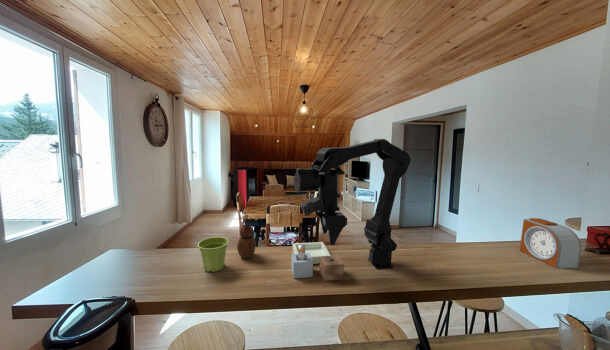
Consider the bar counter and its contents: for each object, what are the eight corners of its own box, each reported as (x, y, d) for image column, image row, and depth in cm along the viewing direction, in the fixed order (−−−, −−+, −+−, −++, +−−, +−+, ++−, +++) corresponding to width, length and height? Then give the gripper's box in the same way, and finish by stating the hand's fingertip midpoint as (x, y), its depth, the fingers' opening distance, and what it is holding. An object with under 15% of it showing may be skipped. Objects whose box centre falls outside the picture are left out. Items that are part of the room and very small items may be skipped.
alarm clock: (516, 249, 97) (520, 216, 96) (536, 249, 98) (541, 217, 96) (555, 268, 83) (560, 229, 81) (578, 267, 83) (585, 230, 81)
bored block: (309, 267, 80) (309, 252, 80) (312, 276, 75) (312, 261, 74) (291, 268, 79) (291, 254, 79) (293, 278, 74) (293, 262, 73)
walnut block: (337, 269, 79) (337, 254, 79) (343, 279, 74) (343, 263, 73) (319, 271, 78) (319, 256, 78) (324, 281, 73) (324, 265, 72)
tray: (322, 248, 95) (322, 242, 95) (330, 262, 84) (330, 255, 83) (292, 250, 93) (292, 243, 93) (296, 265, 82) (296, 257, 81)
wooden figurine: (250, 261, 84) (249, 219, 82) (235, 259, 85) (234, 218, 83) (258, 252, 90) (257, 214, 89) (243, 251, 92) (243, 213, 90)
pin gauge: (304, 270, 78) (304, 243, 77) (305, 274, 76) (306, 246, 75) (297, 270, 78) (297, 244, 77) (298, 274, 76) (298, 247, 75)
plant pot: (234, 267, 79) (234, 242, 78) (206, 278, 73) (205, 251, 72) (220, 258, 86) (220, 234, 85) (193, 267, 79) (192, 242, 78)
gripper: (298, 185, 81) (298, 230, 83) (307, 197, 63) (307, 254, 65) (330, 184, 83) (330, 228, 85) (348, 195, 64) (347, 251, 66)
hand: (328, 238), depth 75 cm, fingers open, 9 cm apart
